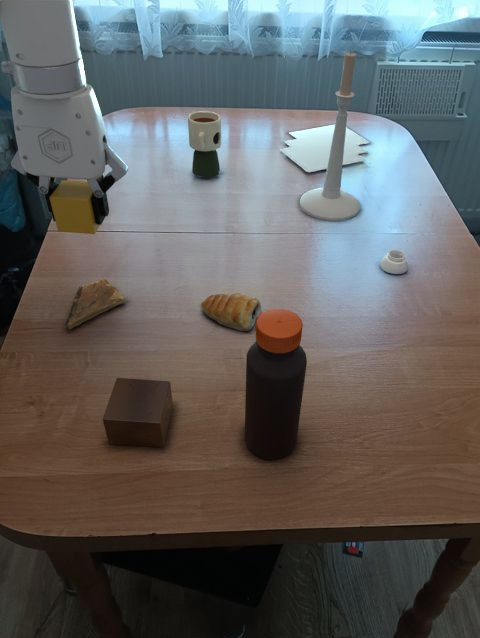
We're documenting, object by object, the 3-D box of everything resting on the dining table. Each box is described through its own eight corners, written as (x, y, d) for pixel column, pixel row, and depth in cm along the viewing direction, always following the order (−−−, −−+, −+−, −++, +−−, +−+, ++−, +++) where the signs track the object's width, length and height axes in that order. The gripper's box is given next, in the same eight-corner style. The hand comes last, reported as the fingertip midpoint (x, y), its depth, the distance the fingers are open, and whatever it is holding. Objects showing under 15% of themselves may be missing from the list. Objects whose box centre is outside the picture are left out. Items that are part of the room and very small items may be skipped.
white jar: (398, 258, 102) (374, 262, 101) (401, 245, 100) (377, 249, 99) (411, 273, 99) (387, 277, 97) (415, 259, 97) (391, 264, 95)
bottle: (280, 412, 74) (290, 295, 60) (306, 448, 69) (324, 332, 56) (235, 429, 71) (235, 312, 57) (259, 468, 67) (266, 352, 53)
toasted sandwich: (67, 332, 83) (64, 324, 82) (43, 309, 87) (40, 300, 86) (127, 304, 89) (125, 295, 88) (102, 283, 93) (101, 274, 92)
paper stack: (260, 137, 140) (260, 135, 140) (340, 123, 149) (340, 121, 149) (307, 175, 125) (307, 172, 125) (392, 157, 135) (393, 154, 134)
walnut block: (108, 444, 69) (102, 419, 65) (122, 402, 74) (116, 377, 70) (163, 448, 68) (159, 423, 65) (173, 406, 74) (170, 380, 70)
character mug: (218, 186, 120) (217, 127, 111) (186, 184, 120) (182, 125, 111) (224, 165, 128) (224, 108, 119) (195, 163, 128) (192, 106, 119)
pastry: (195, 321, 86) (194, 302, 84) (211, 297, 91) (210, 278, 89) (250, 335, 85) (251, 316, 82) (263, 309, 89) (264, 291, 87)
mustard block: (57, 231, 72) (49, 197, 69) (70, 213, 76) (62, 179, 73) (94, 234, 72) (88, 200, 69) (105, 215, 76) (99, 182, 73)
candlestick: (333, 186, 122) (354, 38, 102) (371, 211, 115) (402, 56, 94) (287, 200, 117) (300, 46, 96) (325, 227, 109) (347, 66, 89)
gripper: (-40, 80, 59) (8, 228, 71) (116, 91, 58) (136, 237, 71) (-10, 60, 64) (29, 200, 76) (132, 69, 64) (148, 209, 76)
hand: (80, 217), depth 73 cm, fingers closed on mustard block, 5 cm apart
